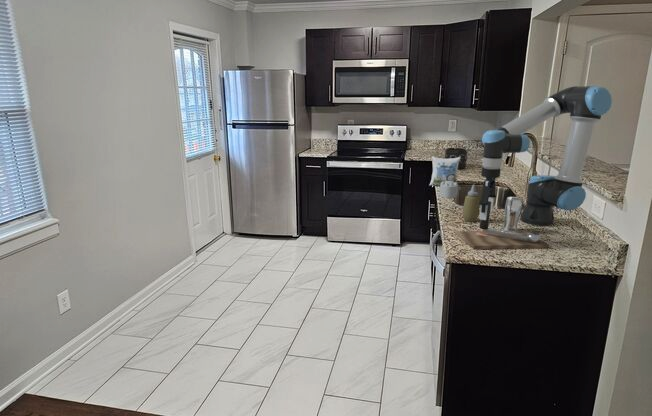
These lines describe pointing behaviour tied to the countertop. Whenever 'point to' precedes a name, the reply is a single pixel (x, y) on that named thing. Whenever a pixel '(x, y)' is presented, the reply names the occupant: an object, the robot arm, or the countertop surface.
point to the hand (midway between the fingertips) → (485, 215)
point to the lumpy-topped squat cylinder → (448, 189)
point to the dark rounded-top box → (455, 154)
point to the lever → (519, 236)
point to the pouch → (444, 170)
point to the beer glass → (512, 213)
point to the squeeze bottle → (471, 205)
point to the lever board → (497, 241)
